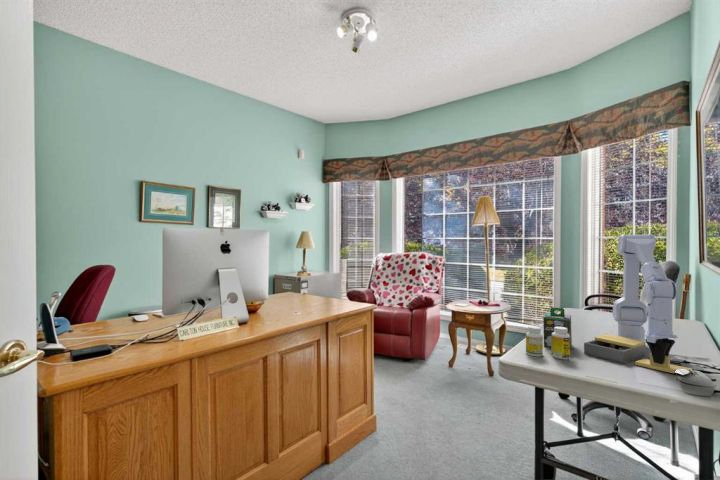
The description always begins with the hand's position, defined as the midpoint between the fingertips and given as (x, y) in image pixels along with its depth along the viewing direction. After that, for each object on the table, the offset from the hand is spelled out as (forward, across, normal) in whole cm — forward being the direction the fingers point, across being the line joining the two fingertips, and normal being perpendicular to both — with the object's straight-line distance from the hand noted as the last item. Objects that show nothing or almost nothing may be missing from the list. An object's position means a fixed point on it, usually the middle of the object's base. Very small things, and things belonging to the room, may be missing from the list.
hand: (660, 362), depth 108 cm
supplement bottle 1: (+3, -20, +29) cm, 35 cm away
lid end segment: (+2, +2, 0) cm, 3 cm away
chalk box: (+3, -2, +31) cm, 31 cm away
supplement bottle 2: (+3, -15, +22) cm, 27 cm away
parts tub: (+2, +5, +14) cm, 16 cm away
